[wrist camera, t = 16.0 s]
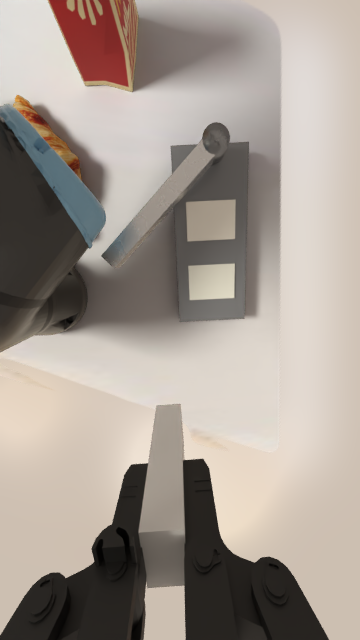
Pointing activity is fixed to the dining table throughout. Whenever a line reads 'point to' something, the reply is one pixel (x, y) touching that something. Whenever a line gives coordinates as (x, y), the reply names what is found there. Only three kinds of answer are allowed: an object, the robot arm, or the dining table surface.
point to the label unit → (212, 237)
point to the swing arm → (170, 193)
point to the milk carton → (100, 39)
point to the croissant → (47, 134)
